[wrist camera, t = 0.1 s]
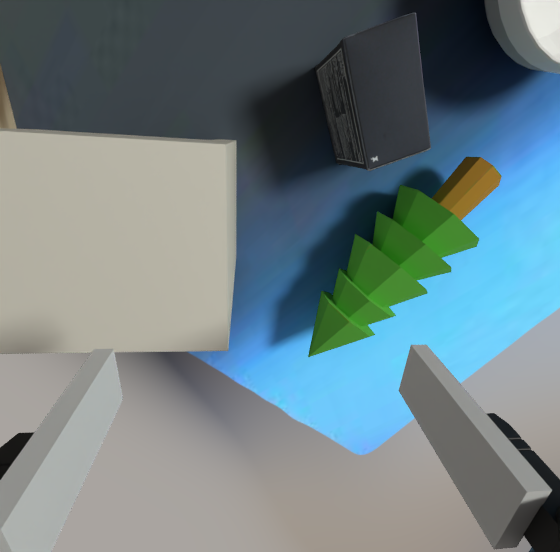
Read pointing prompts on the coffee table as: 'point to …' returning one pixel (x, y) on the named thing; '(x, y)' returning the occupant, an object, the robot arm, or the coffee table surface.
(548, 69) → the bowl
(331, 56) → the small box
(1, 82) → the tan l-shaped block
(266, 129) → the coffee table surface
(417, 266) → the decorative tree
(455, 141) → the coffee table surface
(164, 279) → the cabinet
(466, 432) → the robot arm
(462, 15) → the coffee table surface
